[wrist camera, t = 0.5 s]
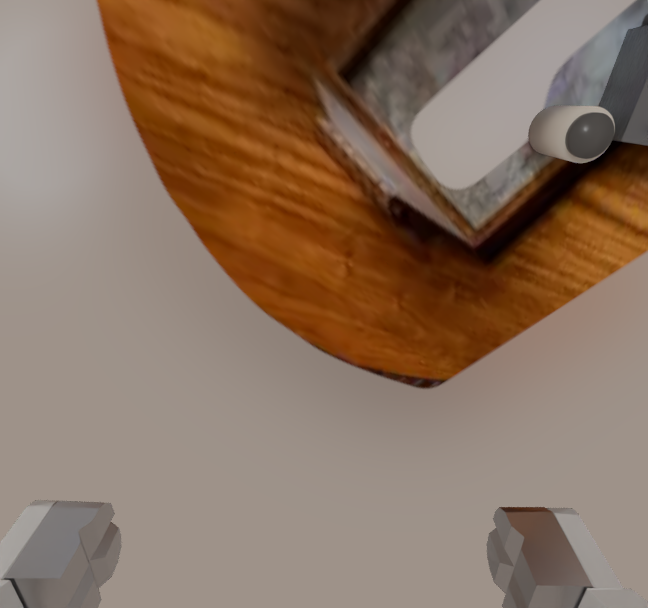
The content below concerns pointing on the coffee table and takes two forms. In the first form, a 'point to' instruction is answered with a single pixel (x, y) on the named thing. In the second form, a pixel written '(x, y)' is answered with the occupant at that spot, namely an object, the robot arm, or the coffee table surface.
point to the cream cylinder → (572, 132)
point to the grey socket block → (629, 89)
